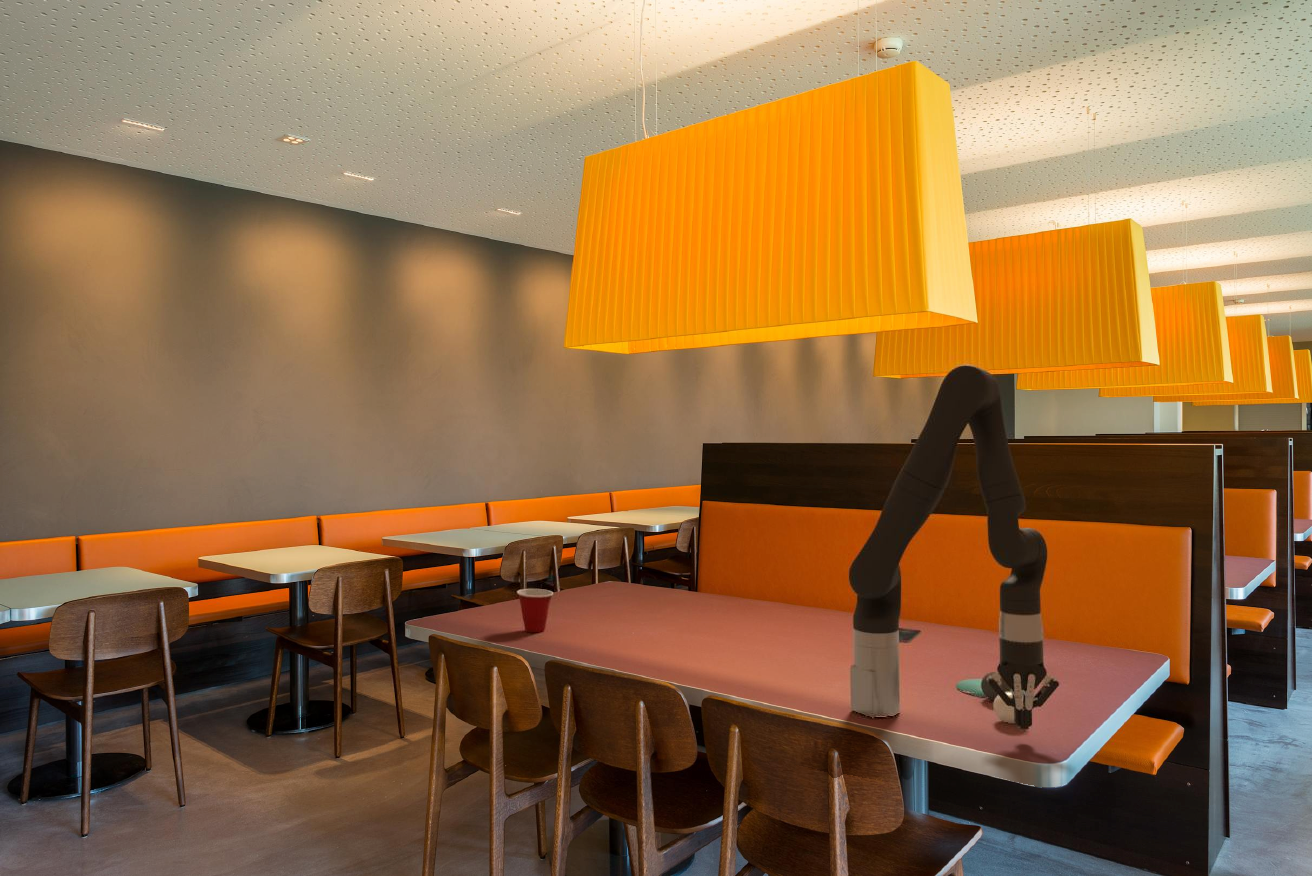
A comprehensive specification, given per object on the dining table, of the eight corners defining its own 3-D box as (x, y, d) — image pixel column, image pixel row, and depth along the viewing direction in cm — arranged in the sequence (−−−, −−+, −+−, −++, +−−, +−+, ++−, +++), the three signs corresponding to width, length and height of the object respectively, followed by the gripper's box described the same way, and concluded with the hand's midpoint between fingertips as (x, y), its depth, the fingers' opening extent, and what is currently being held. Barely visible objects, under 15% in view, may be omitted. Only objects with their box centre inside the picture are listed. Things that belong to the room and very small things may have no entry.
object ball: (1000, 706, 176) (999, 678, 176) (975, 699, 182) (975, 671, 181) (1017, 701, 180) (1016, 673, 180) (992, 694, 185) (992, 667, 185)
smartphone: (922, 630, 243) (908, 641, 230) (922, 633, 243) (908, 644, 230) (896, 627, 247) (881, 638, 234) (896, 630, 247) (881, 641, 234)
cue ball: (1014, 730, 163) (1013, 699, 163) (987, 721, 168) (986, 691, 168) (1032, 723, 166) (1032, 693, 166) (1005, 715, 171) (1005, 686, 171)
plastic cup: (551, 635, 245) (550, 594, 245) (514, 635, 245) (513, 594, 245) (556, 626, 256) (555, 587, 256) (521, 626, 256) (520, 587, 256)
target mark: (997, 703, 179) (997, 702, 179) (942, 686, 191) (942, 686, 191) (1036, 691, 187) (1036, 690, 187) (981, 676, 198) (981, 675, 198)
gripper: (1053, 631, 160) (1055, 722, 160) (979, 630, 162) (982, 720, 162) (1064, 641, 152) (1066, 736, 152) (987, 639, 155) (989, 733, 155)
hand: (1023, 727), depth 157 cm, fingers closed
